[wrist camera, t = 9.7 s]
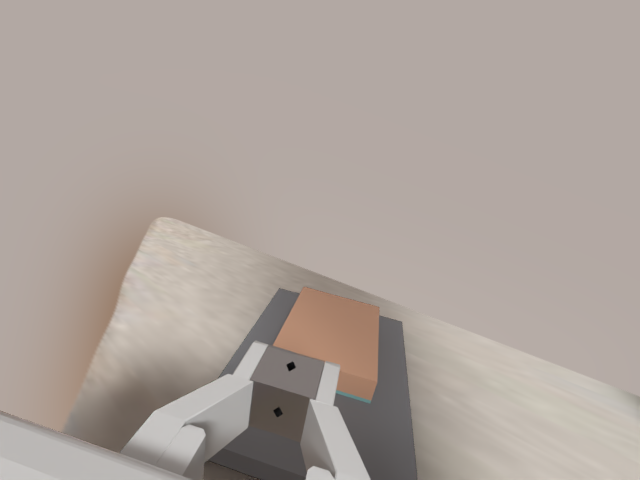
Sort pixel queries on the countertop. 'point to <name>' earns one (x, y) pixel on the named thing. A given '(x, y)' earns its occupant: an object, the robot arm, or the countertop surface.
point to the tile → (336, 338)
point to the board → (360, 417)
